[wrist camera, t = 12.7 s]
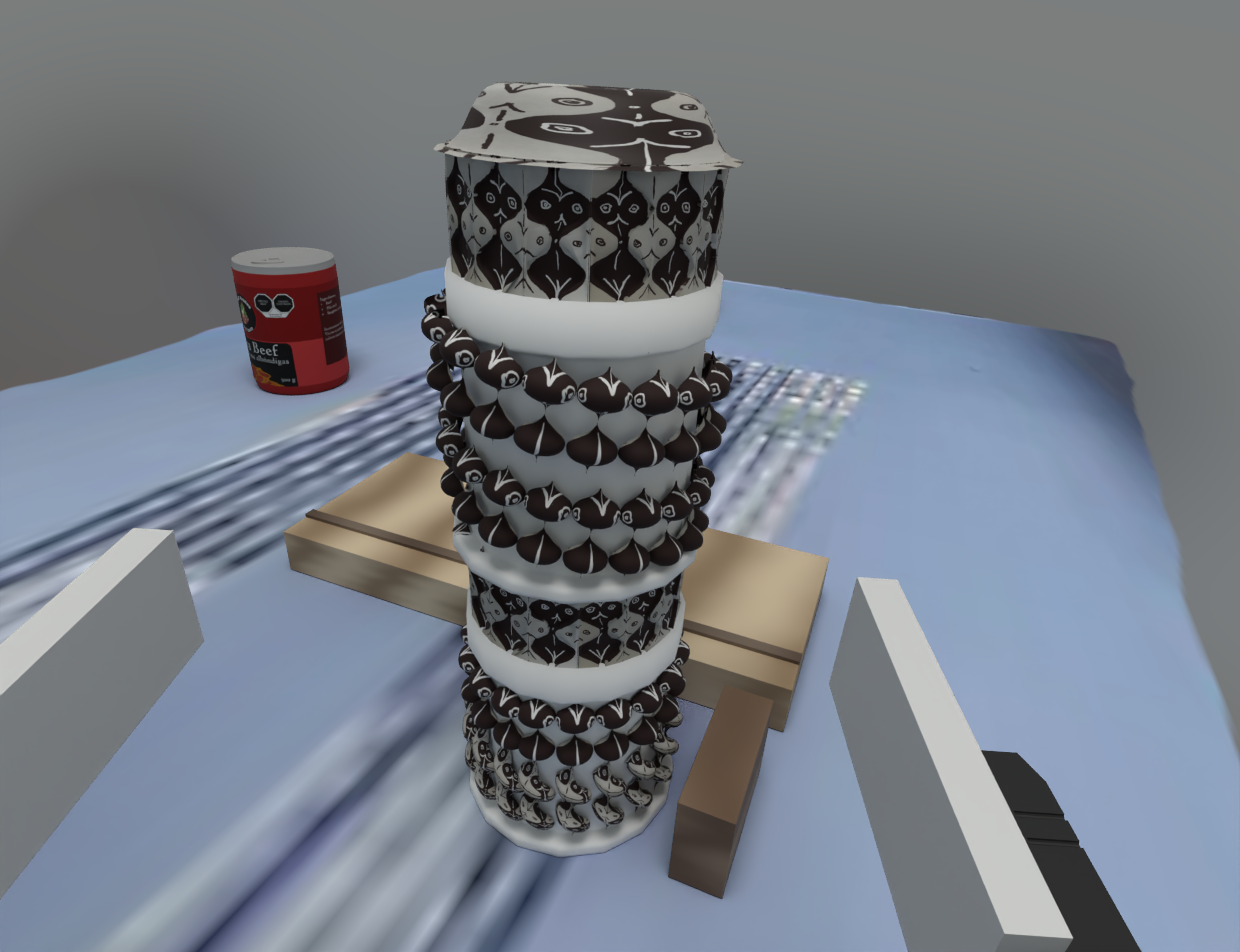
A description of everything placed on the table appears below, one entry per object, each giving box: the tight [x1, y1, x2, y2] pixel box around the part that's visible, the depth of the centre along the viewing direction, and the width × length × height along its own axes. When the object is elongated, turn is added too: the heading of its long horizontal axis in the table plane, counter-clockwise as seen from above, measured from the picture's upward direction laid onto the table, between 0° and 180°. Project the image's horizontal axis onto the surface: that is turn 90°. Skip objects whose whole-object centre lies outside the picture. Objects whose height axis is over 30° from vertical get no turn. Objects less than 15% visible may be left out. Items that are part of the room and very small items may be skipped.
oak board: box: [284, 452, 829, 732], centre depth 41 cm, size 28×11×3 cm, turn 68°
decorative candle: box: [421, 82, 743, 857], centre depth 25 cm, size 9×9×25 cm
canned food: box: [231, 247, 349, 395], centre depth 64 cm, size 8×8×11 cm
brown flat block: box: [668, 685, 774, 899], centre depth 28 cm, size 2×6×4 cm, turn 158°
